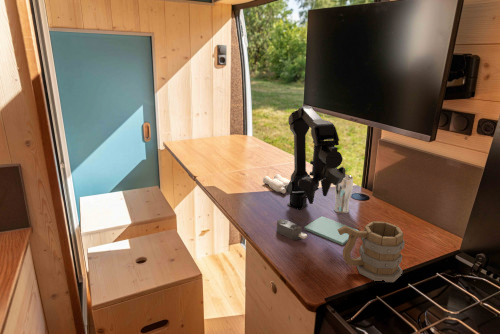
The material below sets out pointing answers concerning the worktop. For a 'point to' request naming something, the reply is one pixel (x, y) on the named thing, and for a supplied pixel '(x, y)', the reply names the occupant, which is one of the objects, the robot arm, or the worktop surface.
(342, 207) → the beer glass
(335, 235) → the mat
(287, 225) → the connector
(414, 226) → the worktop surface
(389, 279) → the tankard
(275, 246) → the worktop surface
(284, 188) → the binoculars
